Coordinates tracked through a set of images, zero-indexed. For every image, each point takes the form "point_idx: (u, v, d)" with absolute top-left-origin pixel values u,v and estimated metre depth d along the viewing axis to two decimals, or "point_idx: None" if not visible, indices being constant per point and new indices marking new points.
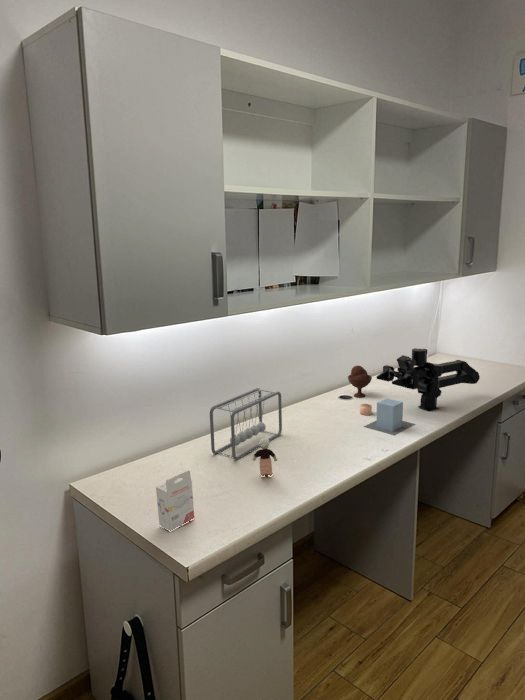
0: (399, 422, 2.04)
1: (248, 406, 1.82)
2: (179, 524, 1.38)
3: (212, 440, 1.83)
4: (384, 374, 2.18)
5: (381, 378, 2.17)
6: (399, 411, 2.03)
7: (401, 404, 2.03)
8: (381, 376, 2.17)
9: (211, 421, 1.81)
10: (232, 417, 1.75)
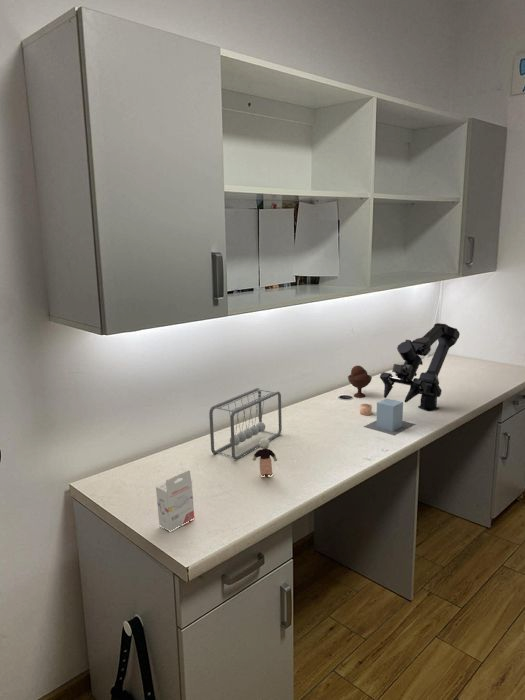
0: (399, 422, 2.04)
1: (248, 406, 1.82)
2: (179, 524, 1.38)
3: (212, 440, 1.83)
4: (387, 387, 2.10)
5: (387, 393, 2.10)
6: (399, 411, 2.03)
7: (401, 404, 2.03)
8: (387, 392, 2.10)
9: (211, 421, 1.81)
10: (232, 417, 1.75)
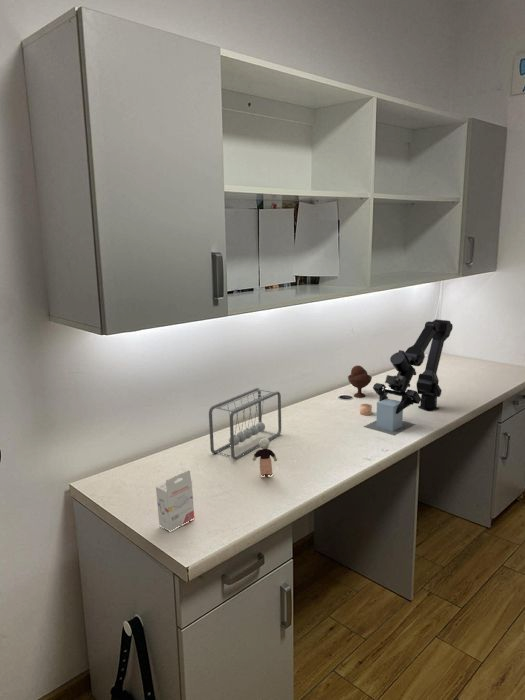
0: (399, 422, 2.04)
1: (247, 406, 1.82)
2: (179, 524, 1.38)
3: (211, 440, 1.83)
4: (382, 399, 2.07)
5: None
6: None
7: None
8: None
9: (210, 421, 1.81)
10: (231, 417, 1.75)
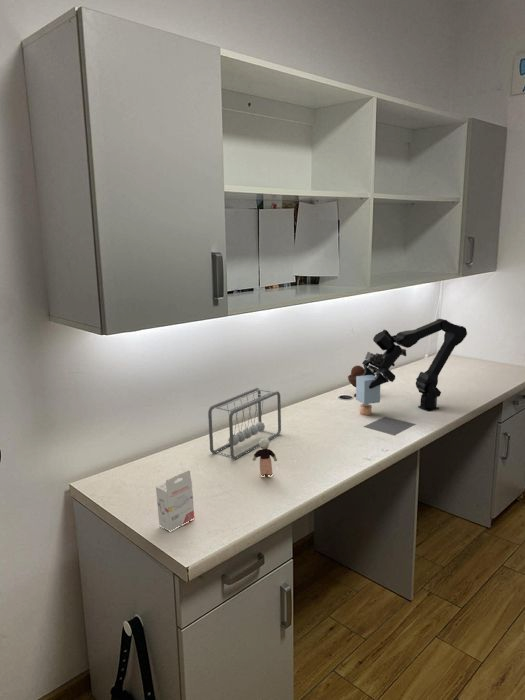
0: (375, 398, 2.14)
1: (247, 406, 1.82)
2: (179, 524, 1.38)
3: (211, 440, 1.83)
4: (366, 374, 2.20)
5: None
6: (374, 387, 2.13)
7: None
8: None
9: (210, 421, 1.82)
10: (230, 417, 1.76)
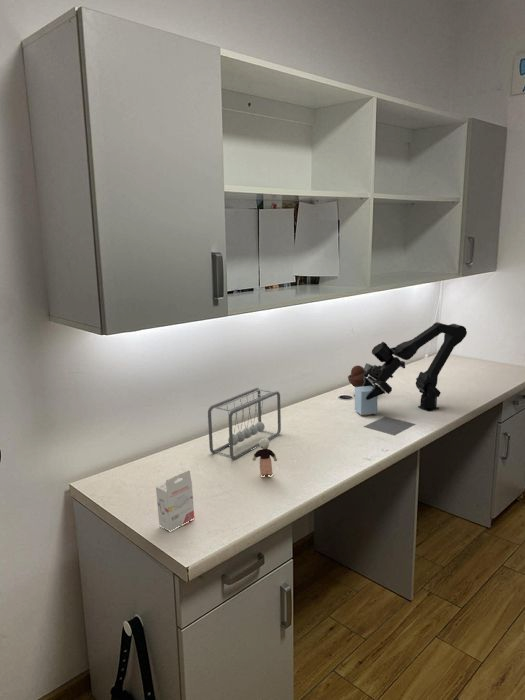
0: (372, 409, 2.18)
1: (246, 406, 1.82)
2: (179, 524, 1.38)
3: (210, 439, 1.83)
4: (365, 385, 2.23)
5: None
6: (372, 398, 2.17)
7: None
8: None
9: (209, 420, 1.82)
10: (230, 417, 1.76)
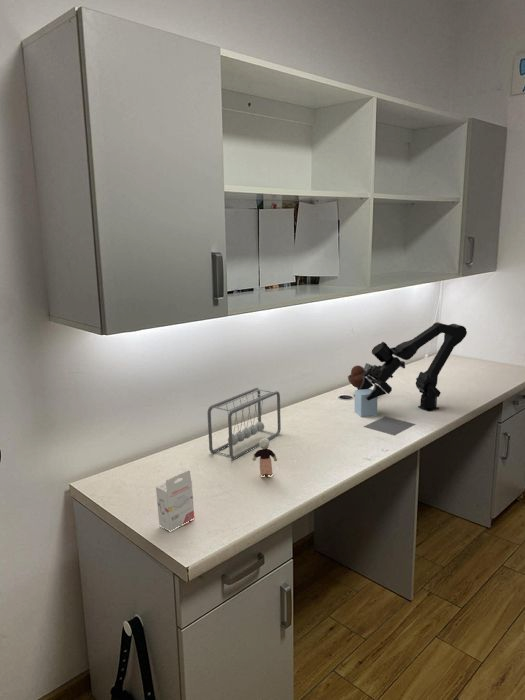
0: (372, 412, 2.18)
1: (246, 406, 1.82)
2: (179, 524, 1.38)
3: (210, 439, 1.83)
4: (364, 385, 2.24)
5: None
6: (371, 401, 2.17)
7: None
8: (362, 389, 2.24)
9: (209, 420, 1.82)
10: (229, 416, 1.76)
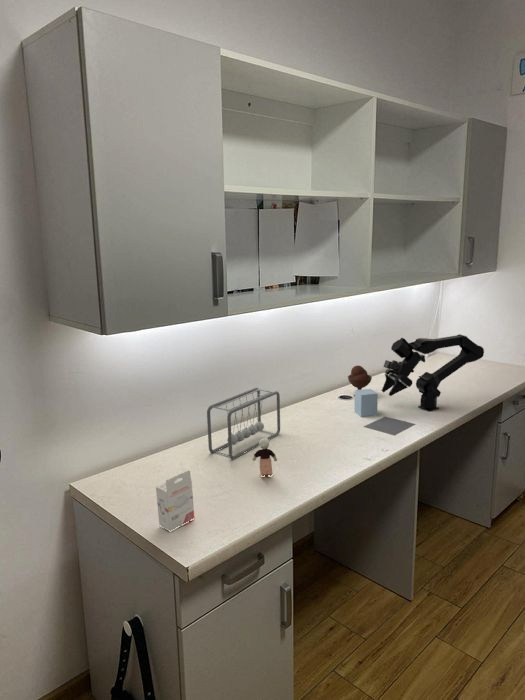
0: (372, 412, 2.18)
1: (245, 405, 1.82)
2: (179, 524, 1.38)
3: (209, 439, 1.84)
4: (387, 382, 2.25)
5: (387, 388, 2.25)
6: (371, 401, 2.17)
7: (375, 395, 2.17)
8: (385, 387, 2.25)
9: (208, 420, 1.82)
10: (229, 416, 1.76)
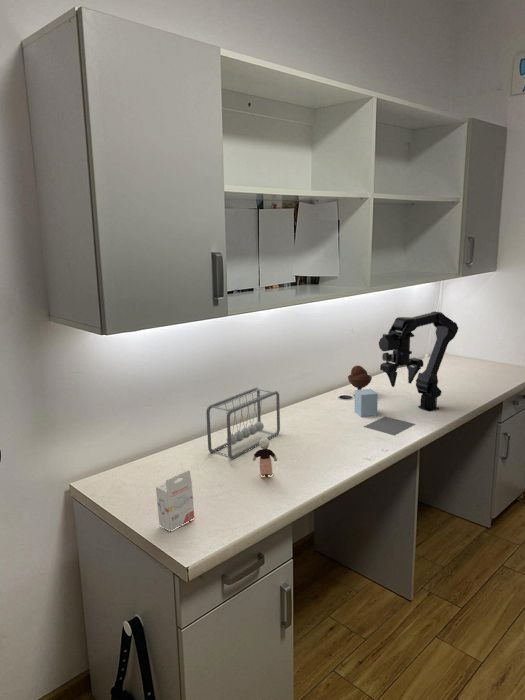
0: (372, 412, 2.18)
1: (245, 405, 1.83)
2: (179, 524, 1.38)
3: (209, 439, 1.84)
4: (409, 373, 2.19)
5: (411, 378, 2.18)
6: (371, 401, 2.17)
7: (375, 395, 2.17)
8: (409, 377, 2.19)
9: (208, 420, 1.82)
10: (228, 416, 1.76)
